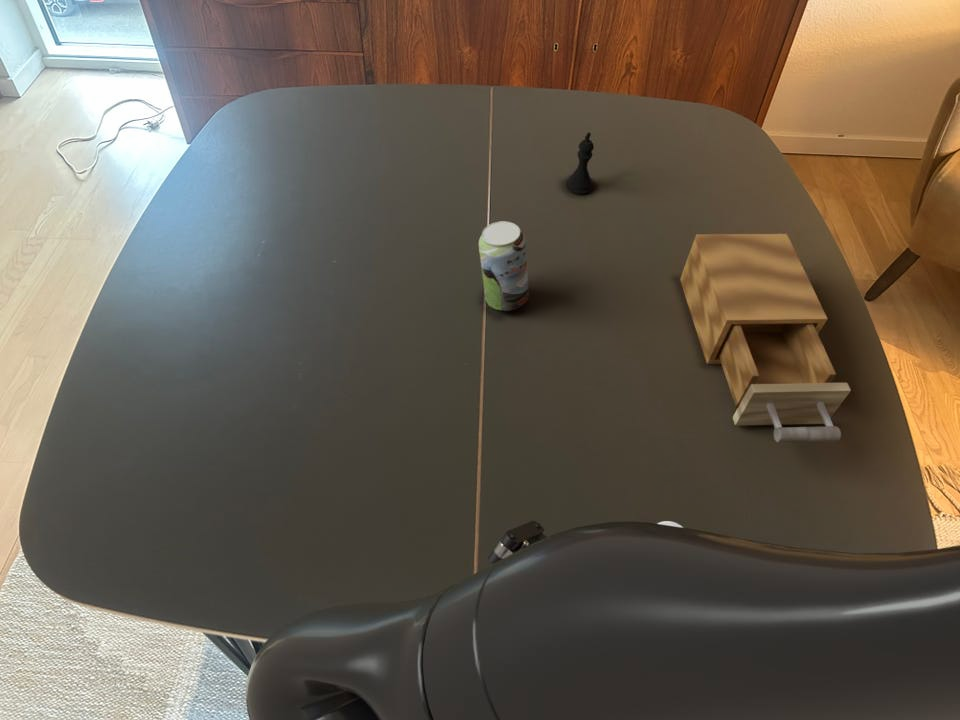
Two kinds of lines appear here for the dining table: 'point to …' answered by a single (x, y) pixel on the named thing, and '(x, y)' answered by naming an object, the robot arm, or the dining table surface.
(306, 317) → the dining table surface
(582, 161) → the chess piece
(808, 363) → the drawer
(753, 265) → the cabinet
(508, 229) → the beverage can
